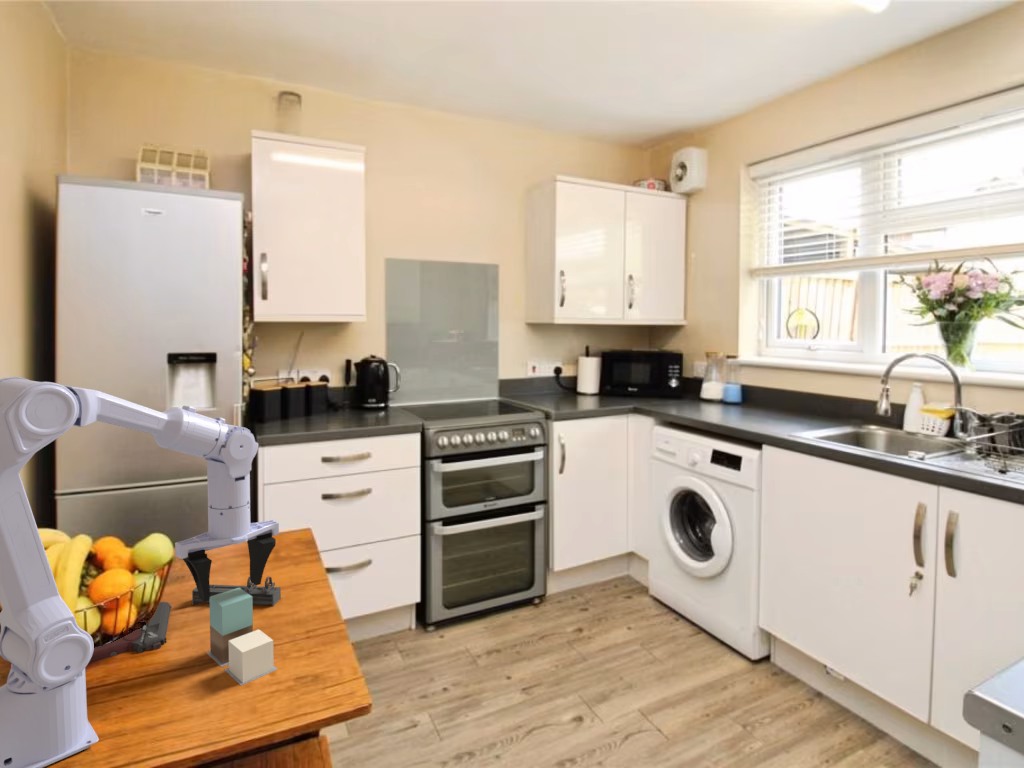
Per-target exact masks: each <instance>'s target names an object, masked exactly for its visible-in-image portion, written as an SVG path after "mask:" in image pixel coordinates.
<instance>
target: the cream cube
mask: <svg viewBox="0 0 1024 768" xmlns="http://www.w3.org/2000/svg"><path fill="white" fill-rule="evenodd" d="M228 642H229V664H228V668H229V670H230V671H231V672H232V673H233V674H234V675H235V676H236V677H237V678H238V679H239V680H240V681H241V682H243V683H244V682H246V681H248V680H251V679H253V678H255V677H257V676H260V675H262V674H264V673H267V672H269V671H271V670H273V669H274V666H275V665H274V664H275V662H274V659H275V658H274V639H272V637H270V636H269V635H267V634H266V633H264V632H263V630H260V629H259V628H258V629H256V630H253V632H250V633H248V634H245V635H242V636H240V637H237V638H234V639H232V640H229V641H228Z"/></svg>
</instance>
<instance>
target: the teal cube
mask: <svg viewBox="0 0 1024 768" xmlns="http://www.w3.org/2000/svg"><path fill="white" fill-rule="evenodd" d="M209 601H210V603H209V627H210V626H212V627H213V628H214V629H215V630H216V631H218V632H219V633H220V634H221V635H222V636H224V635H226V634H229V633H232V632H235V631H237V630H240V629H243V628H246V627H248V626H251V625H253V626H254V614H253V613H254V611H253V609H254V608H253V606H254V604H253V597H252V596H251V595H249V594H248V593H246V592H245V591H244V590H242V589H241V588H236V589H233V590H230V591H227V592H223V593H220V594H217V595H214V596H211V597H210V599H209Z"/></svg>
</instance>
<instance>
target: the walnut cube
mask: <svg viewBox="0 0 1024 768" xmlns="http://www.w3.org/2000/svg"><path fill="white" fill-rule="evenodd" d="M253 627H254V624H253V625H251V626H248V627H246V628H243V629H240V630H237V631H235V632H232V633H229V634H226V635H224V636H222V635H221V634H220V633H219V632H218V631H216V630H215V629H214V628H213V627H212V626H210V625H209V633H210V636H209V637H210V638H209V640H210V643H209V644H210V651H211V653H212V654H213V655H214V656H215V657H216V658H217V659H218V660H219V661H220V662H221V663H222V664H225V663H227V662H229V642H228V641H229V640H232V639H234V638H237V637H240V636H242V635H245V634H248V633H250V632H253V631H254V628H253Z"/></svg>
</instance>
